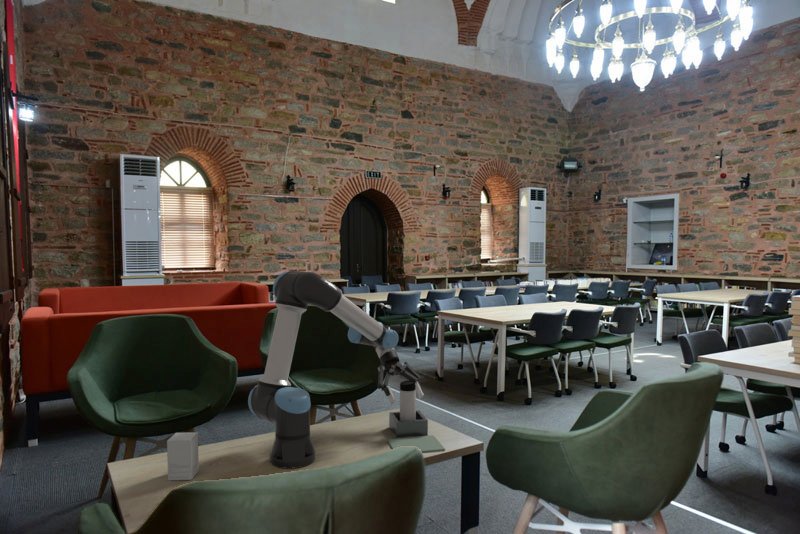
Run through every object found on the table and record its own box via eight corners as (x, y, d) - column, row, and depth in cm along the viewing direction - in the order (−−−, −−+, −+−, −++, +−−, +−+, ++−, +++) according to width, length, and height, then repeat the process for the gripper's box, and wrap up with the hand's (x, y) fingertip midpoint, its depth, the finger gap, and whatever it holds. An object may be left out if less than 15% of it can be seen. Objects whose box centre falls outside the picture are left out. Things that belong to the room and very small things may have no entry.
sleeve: (396, 438, 198) (396, 422, 198) (389, 427, 210) (389, 412, 210) (427, 435, 201) (427, 420, 201) (419, 424, 213) (419, 410, 213)
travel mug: (416, 434, 202) (416, 383, 202) (399, 434, 203) (399, 382, 202) (416, 428, 209) (416, 379, 208) (399, 428, 209) (400, 378, 208)
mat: (395, 455, 182) (395, 453, 182) (387, 440, 196) (387, 439, 196) (445, 450, 186) (445, 448, 186) (433, 436, 200) (433, 435, 200)
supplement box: (199, 470, 169) (199, 431, 168) (191, 480, 161) (190, 440, 161) (176, 470, 168) (175, 432, 168) (166, 480, 161) (166, 440, 161)
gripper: (408, 357, 228) (429, 399, 216) (358, 364, 214) (377, 409, 202) (415, 346, 224) (437, 389, 212) (365, 353, 210) (384, 399, 198)
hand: (408, 399), depth 207 cm, fingers open, 13 cm apart
